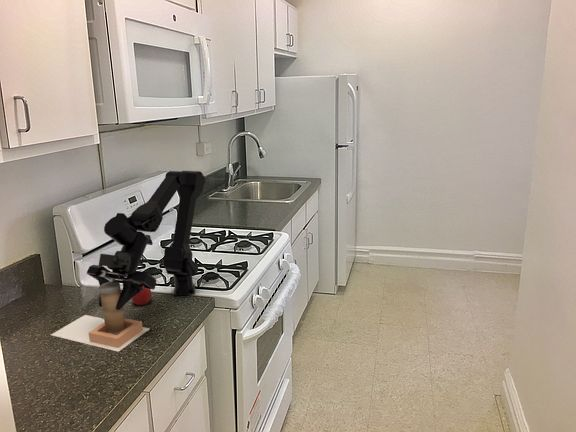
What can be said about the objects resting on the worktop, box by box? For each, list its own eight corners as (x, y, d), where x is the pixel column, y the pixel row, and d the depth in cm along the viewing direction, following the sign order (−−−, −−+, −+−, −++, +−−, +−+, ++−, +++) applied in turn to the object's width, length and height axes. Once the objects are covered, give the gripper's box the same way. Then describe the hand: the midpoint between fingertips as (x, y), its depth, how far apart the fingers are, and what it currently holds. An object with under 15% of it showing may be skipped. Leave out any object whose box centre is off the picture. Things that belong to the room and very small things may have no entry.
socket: (114, 324, 135) (113, 316, 134) (142, 329, 131) (141, 321, 130) (89, 341, 126) (88, 332, 126) (118, 347, 123) (117, 338, 122)
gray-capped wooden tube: (104, 326, 129) (97, 284, 126) (123, 321, 131) (117, 280, 128) (107, 334, 125) (100, 291, 122) (127, 329, 127) (121, 286, 124)
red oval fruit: (147, 311, 144) (143, 286, 142) (129, 309, 146) (125, 285, 143) (155, 302, 150) (153, 278, 148) (138, 301, 151) (135, 277, 149)
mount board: (51, 338, 131) (50, 334, 130) (85, 318, 141) (85, 314, 141) (119, 355, 121) (118, 351, 121) (150, 332, 132) (149, 328, 132)
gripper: (86, 236, 129) (59, 292, 122) (144, 242, 122) (119, 302, 115) (111, 254, 138) (88, 306, 131) (166, 261, 131) (145, 317, 124)
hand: (108, 307), depth 125 cm, fingers closed on gray-capped wooden tube, 5 cm apart
